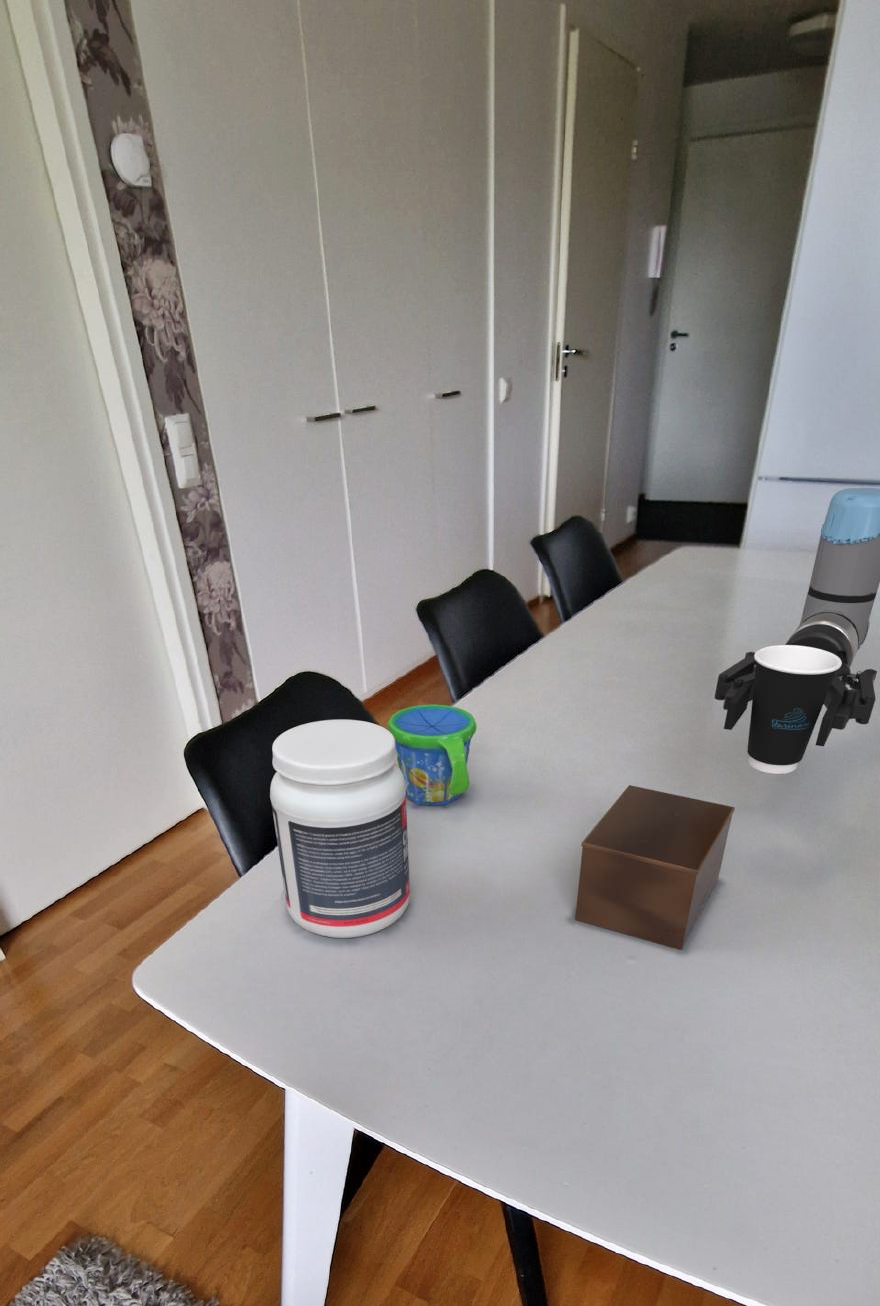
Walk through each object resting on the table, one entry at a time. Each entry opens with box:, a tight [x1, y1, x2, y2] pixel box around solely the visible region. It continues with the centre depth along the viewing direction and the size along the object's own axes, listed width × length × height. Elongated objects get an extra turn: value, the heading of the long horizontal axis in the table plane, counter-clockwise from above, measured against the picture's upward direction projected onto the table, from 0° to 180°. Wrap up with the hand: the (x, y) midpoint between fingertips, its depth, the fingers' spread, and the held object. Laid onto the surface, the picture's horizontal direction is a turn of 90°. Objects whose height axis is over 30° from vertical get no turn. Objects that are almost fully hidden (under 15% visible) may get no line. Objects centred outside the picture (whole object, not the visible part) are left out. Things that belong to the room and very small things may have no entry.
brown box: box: [574, 784, 736, 951], centre depth 86 cm, size 11×14×9 cm
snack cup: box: [387, 704, 477, 807], centre depth 106 cm, size 16×10×10 cm
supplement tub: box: [269, 719, 411, 939], centre depth 82 cm, size 13×13×18 cm
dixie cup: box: [746, 644, 842, 775], centre depth 84 cm, size 8×8×11 cm
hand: (775, 723), depth 80 cm, fingers closed on dixie cup, 8 cm apart
